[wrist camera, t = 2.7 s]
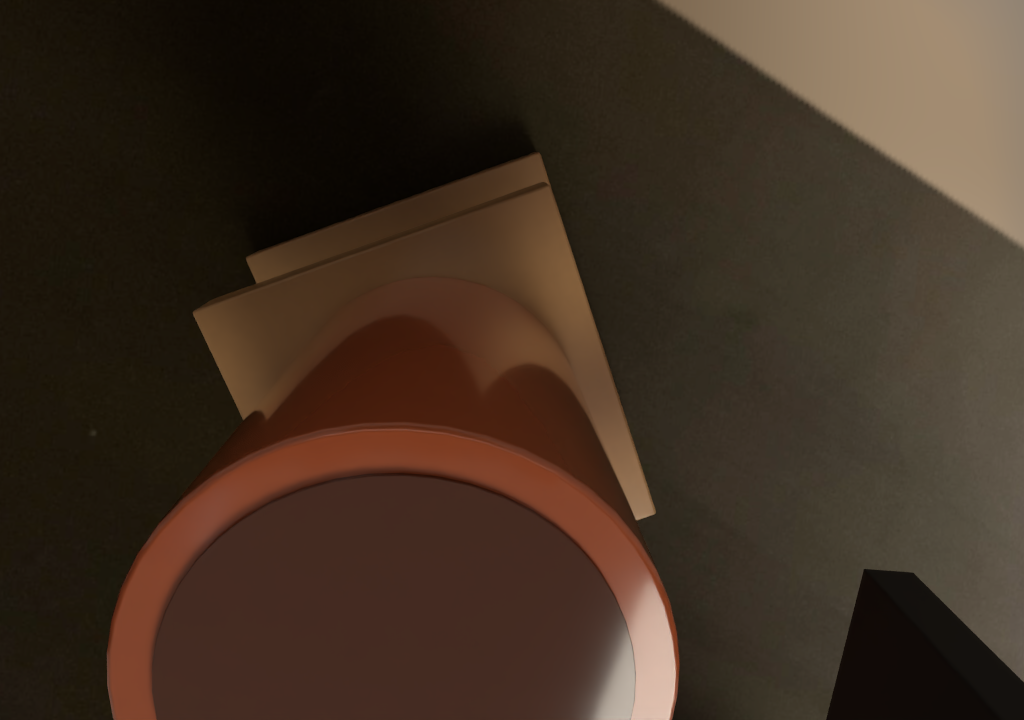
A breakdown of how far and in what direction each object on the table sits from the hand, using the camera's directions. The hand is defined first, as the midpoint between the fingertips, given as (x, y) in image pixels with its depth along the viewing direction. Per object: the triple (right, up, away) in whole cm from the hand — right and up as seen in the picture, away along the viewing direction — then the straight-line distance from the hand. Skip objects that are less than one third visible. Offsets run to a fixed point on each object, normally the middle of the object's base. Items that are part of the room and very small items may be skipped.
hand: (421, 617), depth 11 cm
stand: (-1, +5, +16) cm, 16 cm away
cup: (-1, +2, +8) cm, 8 cm away
